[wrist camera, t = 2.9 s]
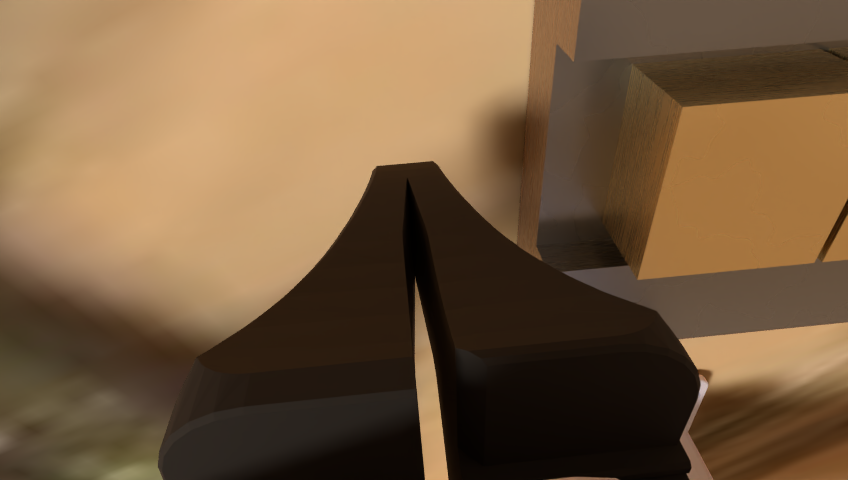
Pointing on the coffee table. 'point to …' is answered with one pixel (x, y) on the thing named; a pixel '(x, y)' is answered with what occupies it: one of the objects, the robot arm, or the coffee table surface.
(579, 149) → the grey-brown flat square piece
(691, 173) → the block
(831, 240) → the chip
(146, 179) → the coffee table surface
